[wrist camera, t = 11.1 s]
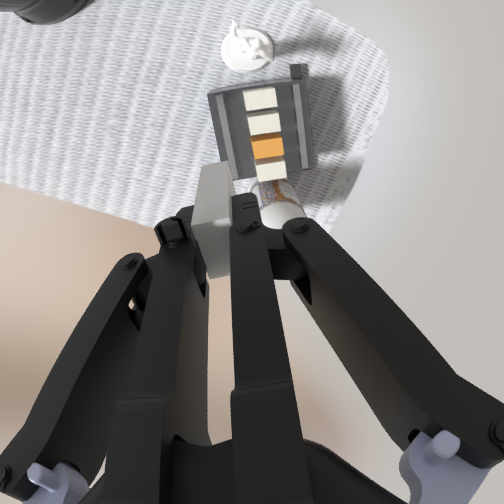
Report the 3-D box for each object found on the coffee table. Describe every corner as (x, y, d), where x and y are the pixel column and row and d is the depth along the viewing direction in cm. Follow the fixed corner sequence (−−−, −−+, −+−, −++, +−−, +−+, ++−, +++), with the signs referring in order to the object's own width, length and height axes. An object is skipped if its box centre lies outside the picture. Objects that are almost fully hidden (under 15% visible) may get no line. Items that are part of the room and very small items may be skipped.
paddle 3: (250, 136, 37) (252, 142, 34) (278, 132, 37) (281, 137, 34) (253, 152, 38) (255, 159, 36) (280, 148, 38) (284, 154, 36)
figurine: (283, 45, 35) (303, 39, 25) (252, 83, 38) (261, 89, 28) (241, 17, 32) (246, 0, 22) (210, 55, 35) (203, 51, 26)
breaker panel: (210, 90, 38) (206, 94, 33) (295, 77, 38) (306, 80, 32) (225, 167, 45) (225, 183, 40) (304, 154, 45) (315, 169, 39)
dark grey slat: (289, 64, 37) (291, 64, 36) (297, 64, 37) (299, 64, 36) (301, 167, 46) (303, 170, 45) (309, 166, 46) (311, 169, 45)
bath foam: (300, 187, 48) (339, 263, 31) (271, 217, 51) (292, 303, 34) (267, 160, 45) (292, 227, 29) (238, 193, 48) (244, 274, 31)
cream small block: (254, 158, 39) (256, 165, 36) (281, 154, 38) (284, 161, 36) (256, 173, 40) (258, 182, 37) (282, 169, 40) (286, 177, 37)
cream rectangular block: (242, 90, 33) (243, 92, 31) (271, 86, 33) (274, 88, 31) (245, 107, 35) (246, 111, 32) (273, 103, 35) (277, 106, 32)
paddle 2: (246, 113, 35) (248, 117, 33) (274, 109, 35) (278, 113, 33) (249, 130, 36) (251, 135, 34) (277, 126, 36) (280, 131, 34)
